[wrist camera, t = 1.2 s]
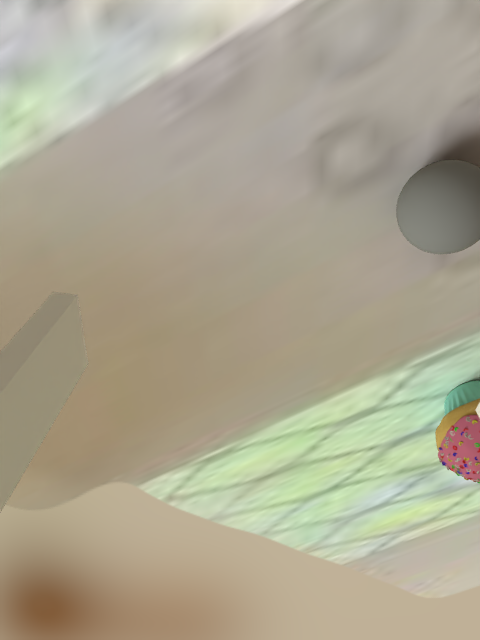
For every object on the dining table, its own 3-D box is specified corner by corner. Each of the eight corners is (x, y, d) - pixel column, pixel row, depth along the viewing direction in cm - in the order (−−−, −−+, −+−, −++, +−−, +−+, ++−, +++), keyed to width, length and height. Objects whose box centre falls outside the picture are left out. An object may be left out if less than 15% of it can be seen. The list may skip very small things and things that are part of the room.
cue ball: (401, 146, 27) (424, 168, 23) (490, 154, 27) (532, 179, 22) (379, 229, 30) (396, 264, 26) (459, 237, 30) (490, 274, 25)
